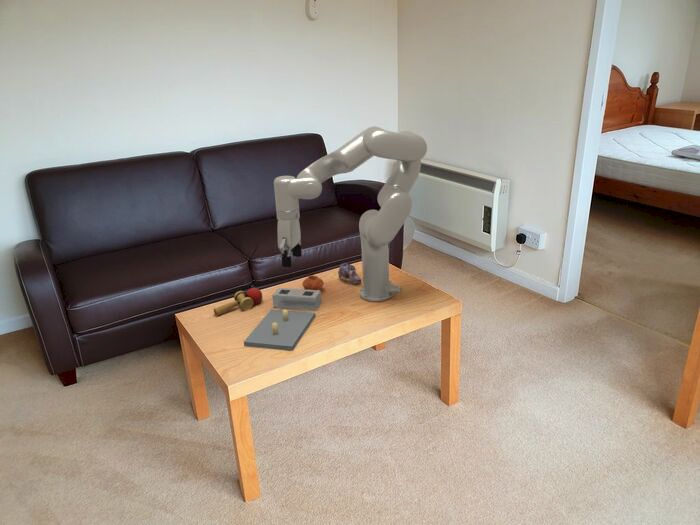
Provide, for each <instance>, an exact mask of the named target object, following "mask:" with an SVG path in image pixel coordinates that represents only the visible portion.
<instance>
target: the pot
mask: <svg viewBox="0 0 700 525" xmlns="http://www.w3.org/2000/svg"><path fill="white" fill-rule="evenodd" d="M324 284H325V283H324V280H323V279H321V278H320V277H319V276H317V275H313V274H312V275H308V276H307V277H306V278H304V279H303V281H302V284H301V285H302V287H303V289H304V290H319V291H320V289H322V287H324Z"/></svg>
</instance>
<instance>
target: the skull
mask: <svg viewBox="0 0 700 525" xmlns="http://www.w3.org/2000/svg"><path fill="white" fill-rule="evenodd" d="M337 274H338V277H339V278H340V279H342V280H344V281H345V282H347V283H349V284H352V285H353V284H354V285H356V284H362V278H361V277H360V275H359V274H358V272H357V271H356V266H354V264H353V265H352V264H350V263H348V262H343V263H341V265H339V269H338V271H337Z"/></svg>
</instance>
